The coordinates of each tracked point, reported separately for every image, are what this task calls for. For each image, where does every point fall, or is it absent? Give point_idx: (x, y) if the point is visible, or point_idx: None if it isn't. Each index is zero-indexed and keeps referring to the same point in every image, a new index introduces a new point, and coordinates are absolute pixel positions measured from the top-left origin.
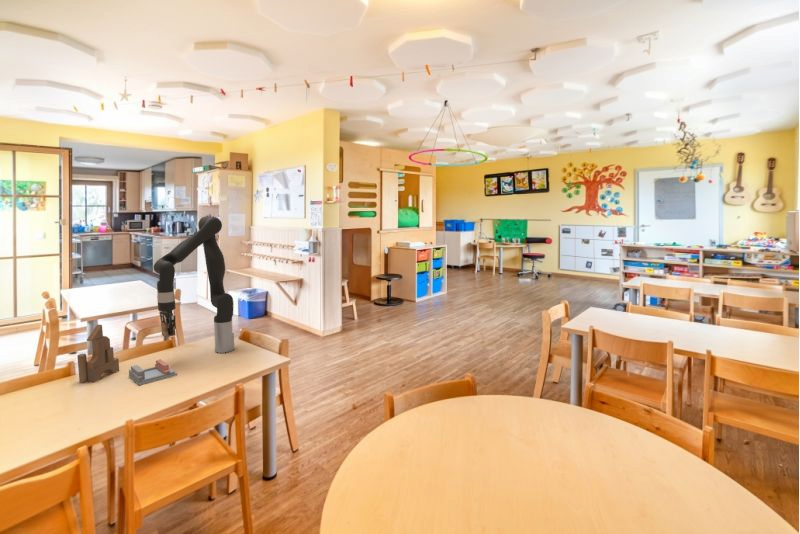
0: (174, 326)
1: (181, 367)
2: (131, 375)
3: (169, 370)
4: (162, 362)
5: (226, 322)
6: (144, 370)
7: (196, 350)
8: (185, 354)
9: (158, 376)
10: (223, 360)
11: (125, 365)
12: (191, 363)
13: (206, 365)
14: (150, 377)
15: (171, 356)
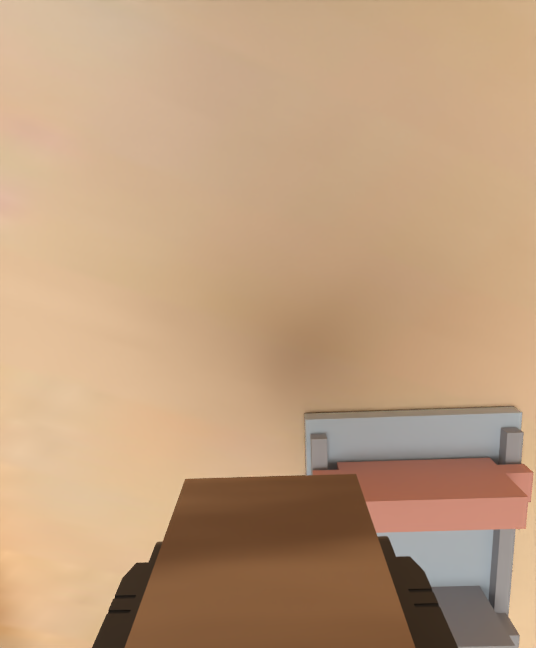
0: (401, 621)
1: (387, 337)
2: None
3: (529, 475)
4: (439, 513)
5: None
6: None
7: (58, 94)
8: (108, 210)
9: (514, 529)
10: (493, 10)
11: (84, 580)
12: (358, 252)
13: (492, 179)
14: (460, 553)
15: (88, 311)
